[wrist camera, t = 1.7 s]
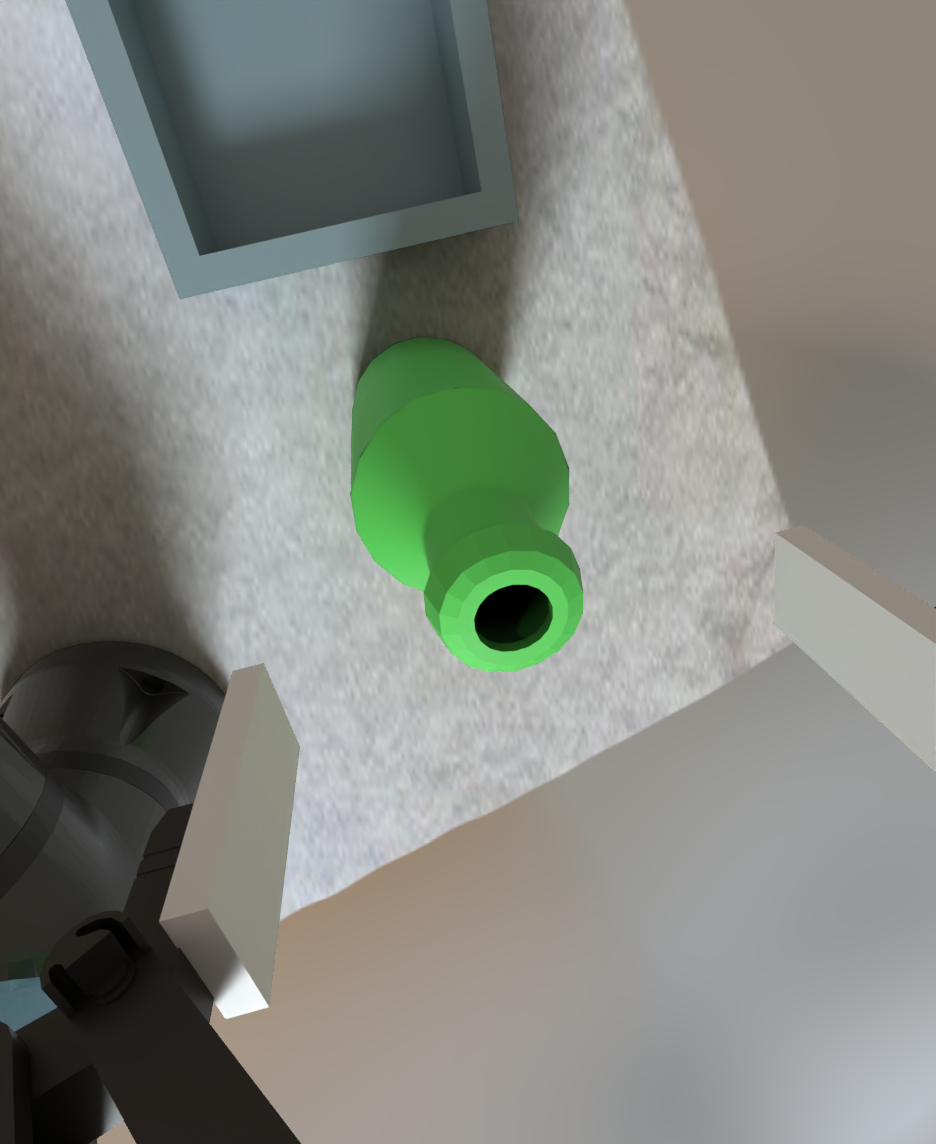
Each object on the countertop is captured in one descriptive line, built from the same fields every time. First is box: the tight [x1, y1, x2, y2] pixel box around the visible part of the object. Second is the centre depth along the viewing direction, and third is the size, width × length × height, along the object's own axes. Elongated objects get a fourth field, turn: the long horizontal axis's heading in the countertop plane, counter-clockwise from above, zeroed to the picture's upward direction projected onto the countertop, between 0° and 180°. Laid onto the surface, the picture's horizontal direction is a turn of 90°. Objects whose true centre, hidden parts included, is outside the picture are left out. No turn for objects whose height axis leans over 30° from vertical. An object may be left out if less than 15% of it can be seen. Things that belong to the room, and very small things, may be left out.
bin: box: [65, 0, 519, 299], centre depth 29 cm, size 16×16×6 cm
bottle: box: [350, 337, 583, 672], centre depth 29 cm, size 9×9×25 cm
